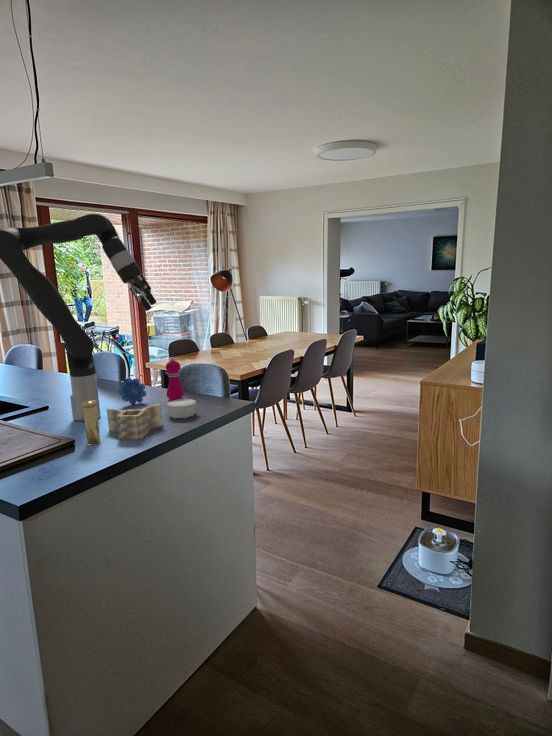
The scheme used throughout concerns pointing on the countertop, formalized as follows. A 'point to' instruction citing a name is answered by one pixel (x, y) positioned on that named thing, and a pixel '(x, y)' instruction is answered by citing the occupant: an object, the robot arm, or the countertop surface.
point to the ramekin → (181, 408)
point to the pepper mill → (174, 381)
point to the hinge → (134, 421)
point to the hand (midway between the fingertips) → (151, 306)
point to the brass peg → (91, 421)
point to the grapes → (132, 390)
